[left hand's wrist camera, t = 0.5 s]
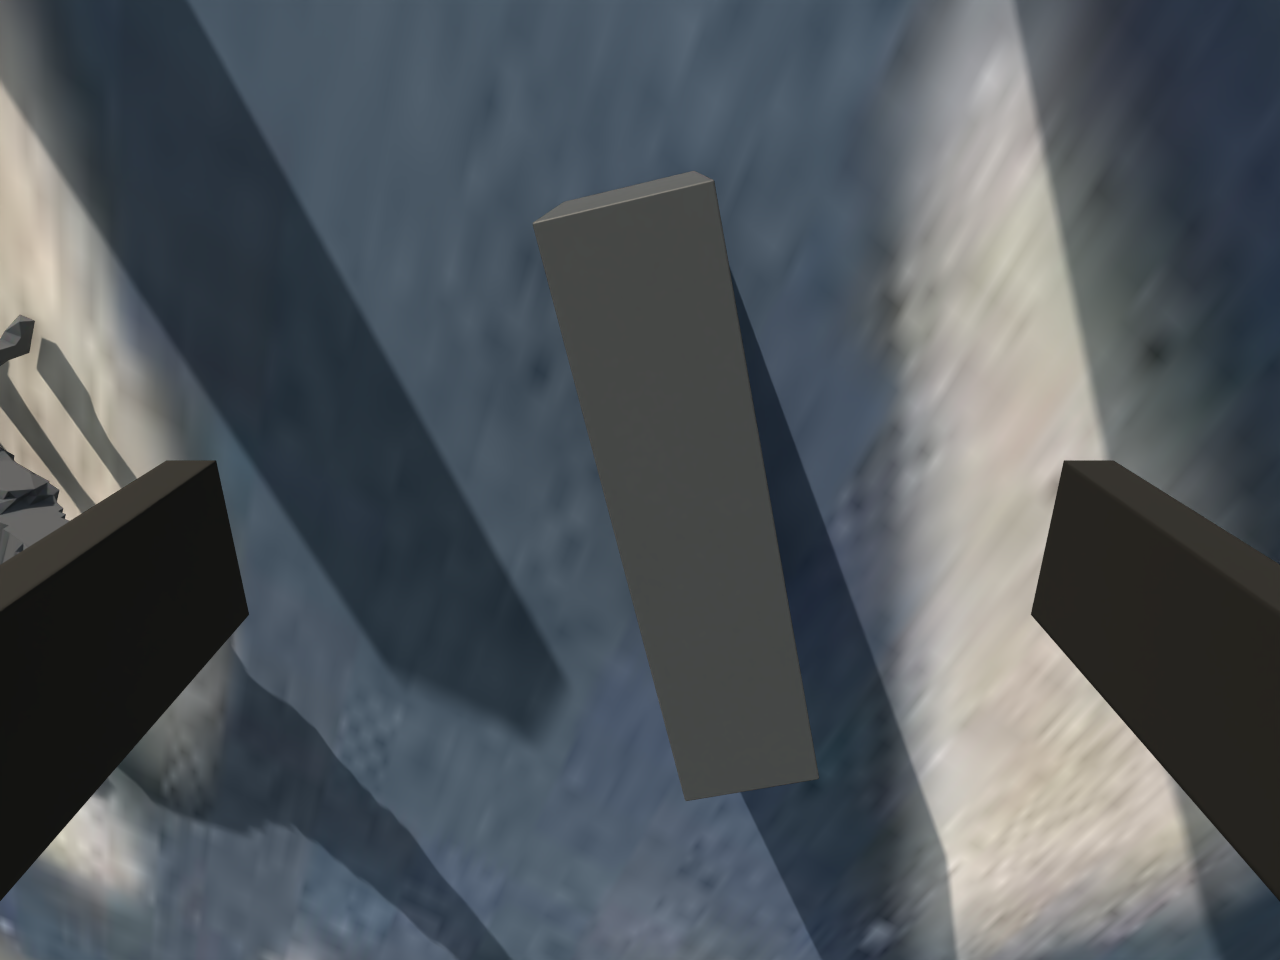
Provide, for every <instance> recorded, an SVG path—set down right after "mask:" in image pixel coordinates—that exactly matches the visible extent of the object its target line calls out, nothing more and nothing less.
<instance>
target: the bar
mask: <svg viewBox="0 0 1280 960" xmlns="http://www.w3.org/2000/svg"><path fill="white" fill-rule="evenodd" d="M533 227H534V231H535V235H536V239H537V242H538V246H539V250H540V254H541V258H542V261H543V265H544V269H545V273H546V276H547V280H548V284H549V288H550V292H551V295H552V299H553V303H554V307H555V310H556V314H557V318H558V322H559V326H560V329H561V333H562V337H563V341H564V344H565V348H566V352H567V356H568V360H569V363H570V367H571V371H572V375H573V378H574V382H575V386H576V390H577V394H578V397H579V401H580V405H581V409H582V412H583V416H584V420H585V424H586V428H587V431H588V435H589V439H590V443H591V446H592V450H593V454H594V458H595V462H596V465H597V469H598V473H599V477H600V480H601V484H602V488H603V492H604V496H605V499H606V503H607V507H608V511H609V514H610V518H611V522H612V526H613V529H614V533H615V537H616V541H617V545H618V548H619V552H620V556H621V560H622V563H623V567H624V571H625V575H626V579H627V582H628V586H629V590H630V594H631V597H632V601H633V605H634V609H635V613H636V616H637V620H638V624H639V628H640V631H641V635H642V639H643V643H644V647H645V650H646V654H647V658H648V662H649V665H650V669H651V673H652V677H653V681H654V684H655V688H656V692H657V696H658V699H659V703H660V707H661V711H662V715H663V718H664V722H665V726H666V730H667V733H668V737H669V741H670V745H671V749H672V752H673V756H674V760H675V764H676V767H677V771H678V775H679V779H680V783H681V786H682V790H683V794H684V798H685V800H686V801H690V800H696V799H702V798H708V797H714V796H720V795H726V794H732V793H738V792H744V791H750V790H756V789H762V788H768V787H774V786H780V785H786V784H792V783H798V782H804V781H810V780H816V779H819V775H818V769H817V763H816V757H815V752H814V746H813V740H812V735H811V729H810V723H809V718H808V712H807V706H806V701H805V695H804V689H803V683H802V678H801V672H800V666H799V661H798V655H797V649H796V644H795V638H794V632H793V627H792V621H791V615H790V610H789V604H788V598H787V592H786V587H785V581H784V575H783V570H782V564H781V558H780V553H779V547H778V541H777V536H776V530H775V524H774V519H773V513H772V507H771V501H770V496H769V490H768V484H767V479H766V473H765V467H764V462H763V456H762V450H761V445H760V439H759V433H758V427H757V422H756V416H755V410H754V405H753V399H752V393H751V388H750V382H749V376H748V371H747V365H746V359H745V354H744V348H743V342H742V336H741V331H740V325H739V319H738V314H737V308H736V302H735V297H734V291H733V285H732V280H731V274H730V268H729V263H728V257H727V251H726V245H725V240H724V234H723V228H722V223H721V217H720V211H719V206H718V200H717V194H716V189H715V183H714V180H712V179H710V178H708V177H706V176H704V175H702V174H700V173H697V172H695V171H691V172H687V173H683V174H679V175H675V176H670V177H666V178H662V179H658V180H654V181H650V182H645V183H641V184H637V185H633V186H629V187H625V188H620V189H616V190H612V191H608V192H604V193H600V194H595V195H591V196H587V197H583V198H579V199H574V200H570V201H566V202H563V203H562V204H560V205H559V206H557V207H556V208H554V209H553V210H551V211H550V212H548V213H547V214H545V215H544V216H542V217H541V218H539V219H538V220H536V221H535V222H533Z"/></svg>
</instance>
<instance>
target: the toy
mask: <svg viewBox="0 0 1280 960" xmlns="http://www.w3.org/2000/svg"><path fill="white" fill-rule="evenodd" d="M34 322H35V321H34V320H32V319H29V318H27V317H24V316H22V315H19V316H18V317H17V318H16V319H15V321H14V322H13V323H12V324H11V325H10V326H9V327H8V328H7V329H6V330H5V332H4V334H3V335H2V337H1V339H0V366H1V365H2V364H3V363H5V362H6V361H8V360H10V359H13V358H16V357H19V356H21V355H24V354H27V353H29V351H30V345H31V339H32V333H33V328H34ZM58 494H59V489H57V488H56V487H54V486H53V485H51V484H50V483H49V481H48V480H46V479H44V478H42V477H40V476H38V475H37V474H35V473H33V472H31V471H30V470H28V469H26V468H25V467H23V466H21V465H19V464H18V463H16V462H15V461H14V455H12V454H11V453H9V452H7V451H5V450H4V449H2V448H0V565H1V564H2V563H4V562H5V561H7V560H9V559H10V558H12V557H13V556H15V555H17V554H18V553H20V552H21V551H23V550H25V549H26V548H28V547H29V546H31V545H33V544H34V543H36V542H37V541H39V540H41V539H42V538H44V537H45V536H47V535H49V534H50V533H52V532H53V531H55V530H57V529H58V528H60V527H61V526H63V525H65V524H66V523H68V522H69V521H68V520H66V519H65V516H66V514H64V513H62V512H63V508H62V507H61V506H60V505H59V504H58V503H57V498H58Z"/></svg>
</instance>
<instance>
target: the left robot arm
mask: <svg viewBox="0 0 1280 960" xmlns="http://www.w3.org/2000/svg"><path fill="white" fill-rule="evenodd" d="M248 615H249V612H248V607H247V603H246V598H245V593H244V589H243V584H242V579H241V575H240V570H239V565H238V561H237V556H236V551H235V547H234V542H233V537H232V533H231V528H230V523H229V519H228V514H227V509H226V505H225V500H224V495H223V491H222V486H221V481H220V477H219V472H218V467H217V463H216V461H165V462H164V463H162V464H160V465H159V466H157V467H156V468H154V469H152V470H151V471H149V472H148V473H146V474H144V475H143V476H141V477H140V478H138V479H136V480H135V481H133V482H132V483H130V484H128V485H127V486H125V487H124V488H122V489H120V490H119V491H117V492H116V493H114V494H112V495H111V496H109V497H108V498H106V499H104V500H103V501H101V502H100V503H98V504H96V505H95V506H93V507H92V508H90V509H88V510H87V511H85V512H84V513H82V514H80V515H79V516H77V517H76V518H74V519H73V520H71V521H69V522H68V523H66V524H65V525H63V526H61V527H60V528H58V529H57V530H55V531H53V532H52V533H50V534H49V535H47V536H45V537H44V538H42V539H41V540H39V541H37V542H36V543H34V544H33V545H31V546H29V547H28V548H26V549H25V550H23V551H21V552H20V553H18V554H17V555H15V556H13V557H12V558H10V559H9V560H7V561H5V562H4V563H2V564H1V565H0V901H1V900H2V899H3V897H4V896H5V895H6V894H7V893H8V892H9V890H10V889H11V888H12V887H13V886H14V885H15V884H16V882H17V881H18V880H19V879H20V878H21V877H22V875H23V874H24V873H25V872H26V871H27V870H28V869H29V867H30V866H31V865H32V864H33V863H34V862H35V861H36V859H37V858H38V857H39V856H40V855H41V854H42V852H43V851H44V850H45V849H46V848H47V847H48V846H49V844H50V843H51V842H52V841H53V840H54V839H55V837H56V836H57V835H58V834H59V833H60V832H61V831H62V829H63V828H64V827H65V826H66V825H67V824H68V822H69V821H70V820H71V819H72V818H73V817H74V816H75V814H76V813H77V812H78V811H79V810H80V809H81V808H82V806H83V805H84V804H85V803H86V802H87V801H88V799H89V798H90V797H91V796H92V795H93V794H94V793H95V791H96V790H97V789H98V788H99V787H100V786H101V784H102V783H103V782H104V781H105V780H106V779H107V778H108V776H109V775H110V774H111V773H112V772H113V771H114V770H115V768H116V767H117V766H118V765H119V764H120V763H121V761H122V760H123V759H124V758H125V757H126V756H127V755H128V753H129V752H130V751H131V750H132V749H133V748H134V746H135V745H136V744H137V743H138V742H139V741H140V740H141V738H142V737H143V736H144V735H145V734H146V733H147V731H148V730H149V729H150V728H151V727H152V726H153V725H154V723H155V722H156V721H157V720H158V719H159V718H160V717H161V715H162V714H163V713H164V712H165V711H166V710H167V708H168V707H169V706H170V705H171V704H172V703H173V702H174V700H175V699H176V698H177V697H178V696H179V695H180V693H181V692H182V691H183V690H184V689H185V688H186V687H187V685H188V684H189V683H190V682H191V681H192V680H193V679H194V677H195V676H196V675H197V674H198V673H199V672H200V670H201V669H202V668H203V667H204V666H205V665H206V664H207V662H208V661H209V660H210V659H211V658H212V657H213V655H214V654H215V653H216V652H217V651H218V650H219V649H220V647H221V646H222V645H223V644H224V643H225V642H226V640H227V639H228V638H229V637H230V636H231V635H232V634H233V632H234V631H235V630H236V629H237V628H238V627H239V626H240V624H241V623H242V622H243V621H244V620H245V619H246V617H247V616H248ZM1031 615H1032V616H1033V617H1034V619H1035V620H1036V621H1037V622H1038V623H1039V624H1040V626H1041V627H1042V628H1043V629H1044V630H1045V631H1046V632H1047V634H1048V635H1049V636H1050V637H1051V638H1052V639H1053V640H1054V642H1055V643H1056V644H1057V645H1058V646H1059V647H1060V649H1061V650H1062V651H1063V652H1064V653H1065V654H1066V655H1067V657H1068V658H1069V659H1070V660H1071V661H1072V662H1073V664H1074V665H1075V666H1076V667H1077V668H1078V669H1079V670H1080V672H1081V673H1082V674H1083V675H1084V676H1085V677H1086V679H1087V680H1088V681H1089V682H1090V683H1091V684H1092V685H1093V687H1094V688H1095V689H1096V690H1097V691H1098V692H1099V693H1100V695H1101V696H1102V697H1103V698H1104V699H1105V700H1106V702H1107V703H1108V704H1109V705H1110V706H1111V707H1112V708H1113V710H1114V711H1115V712H1116V713H1117V714H1118V715H1119V717H1120V718H1121V719H1122V720H1123V721H1124V722H1125V723H1126V725H1127V726H1128V727H1129V728H1130V729H1131V730H1132V731H1133V733H1134V734H1135V735H1136V736H1137V737H1138V738H1139V740H1140V741H1141V742H1142V743H1143V744H1144V745H1145V746H1146V748H1147V749H1148V750H1149V751H1150V752H1151V753H1152V755H1153V756H1154V757H1155V758H1156V759H1157V760H1158V761H1159V763H1160V764H1161V765H1162V766H1163V767H1164V768H1165V770H1166V771H1167V772H1168V773H1169V774H1170V775H1171V776H1172V778H1173V779H1174V780H1175V781H1176V782H1177V783H1178V784H1179V786H1180V787H1181V788H1182V789H1183V790H1184V791H1185V793H1186V794H1187V795H1188V796H1189V797H1190V798H1191V799H1192V801H1193V802H1194V803H1195V804H1196V805H1197V806H1198V808H1199V809H1200V810H1201V811H1202V812H1203V813H1204V814H1205V816H1206V817H1207V818H1208V819H1209V820H1210V821H1211V822H1212V824H1213V825H1214V826H1215V827H1216V828H1217V829H1218V831H1219V832H1220V833H1221V834H1222V835H1223V836H1224V837H1225V839H1226V840H1227V841H1228V842H1229V843H1230V844H1231V846H1232V847H1233V848H1234V849H1235V850H1236V851H1237V852H1238V854H1239V855H1240V856H1241V857H1242V858H1243V859H1244V861H1245V862H1246V863H1247V864H1248V865H1249V866H1250V867H1251V869H1252V870H1253V871H1254V872H1255V873H1256V874H1257V875H1258V877H1259V878H1260V879H1261V880H1262V881H1263V882H1264V884H1265V885H1266V886H1267V887H1268V888H1269V889H1270V890H1271V892H1272V893H1273V894H1274V895H1275V896H1276V897H1277V899H1278V900H1279V901H1280V565H1279V564H1278V563H1276V562H1275V561H1273V560H1271V559H1270V558H1268V557H1267V556H1265V555H1263V554H1262V553H1260V552H1259V551H1257V550H1255V549H1254V548H1252V547H1251V546H1249V545H1247V544H1246V543H1244V542H1243V541H1241V540H1239V539H1238V538H1236V537H1235V536H1233V535H1231V534H1230V533H1228V532H1227V531H1225V530H1223V529H1222V528H1220V527H1219V526H1217V525H1215V524H1214V523H1212V522H1211V521H1209V520H1207V519H1206V518H1204V517H1203V516H1201V515H1199V514H1198V513H1196V512H1195V511H1193V510H1192V509H1190V508H1188V507H1187V506H1185V505H1184V504H1182V503H1180V502H1179V501H1177V500H1176V499H1174V498H1172V497H1171V496H1169V495H1168V494H1166V493H1164V492H1163V491H1161V490H1160V489H1158V488H1156V487H1155V486H1153V485H1152V484H1150V483H1148V482H1147V481H1145V480H1144V479H1142V478H1140V477H1139V476H1137V475H1136V474H1134V473H1132V472H1131V471H1129V470H1128V469H1126V468H1124V467H1123V466H1121V465H1120V464H1118V463H1116V462H1115V461H1064V463H1063V467H1062V472H1061V477H1060V481H1059V486H1058V491H1057V495H1056V500H1055V505H1054V509H1053V514H1052V519H1051V523H1050V528H1049V533H1048V537H1047V542H1046V547H1045V551H1044V556H1043V561H1042V565H1041V570H1040V575H1039V579H1038V584H1037V589H1036V593H1035V598H1034V603H1033V607H1032V612H1031Z"/></svg>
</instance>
